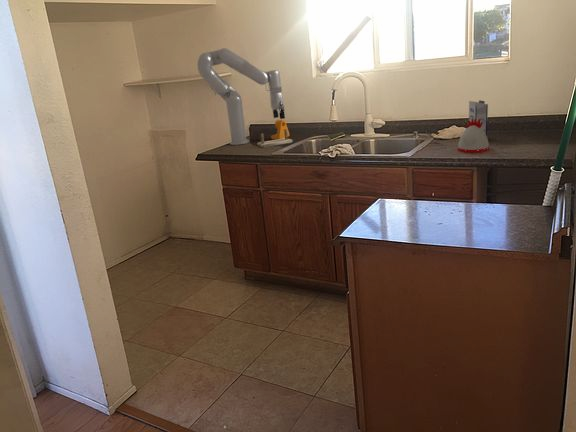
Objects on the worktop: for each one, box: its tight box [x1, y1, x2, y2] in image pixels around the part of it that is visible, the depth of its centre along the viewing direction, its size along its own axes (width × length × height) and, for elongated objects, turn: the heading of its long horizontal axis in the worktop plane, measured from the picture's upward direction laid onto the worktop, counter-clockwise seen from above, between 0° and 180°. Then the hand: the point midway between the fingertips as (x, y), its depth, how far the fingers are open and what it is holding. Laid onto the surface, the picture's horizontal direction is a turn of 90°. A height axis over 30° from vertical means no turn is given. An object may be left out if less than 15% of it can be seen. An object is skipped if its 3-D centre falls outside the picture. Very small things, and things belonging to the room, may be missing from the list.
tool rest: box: [257, 129, 293, 148], centre depth 299 cm, size 10×19×8 cm, turn 115°
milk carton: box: [468, 99, 489, 137], centre depth 252 cm, size 7×7×20 cm
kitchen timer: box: [457, 118, 490, 154], centre depth 231 cm, size 14×14×15 cm
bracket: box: [270, 119, 290, 140], centre depth 314 cm, size 11×7×12 cm, turn 145°
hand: (279, 118), depth 312 cm, fingers open, 9 cm apart
